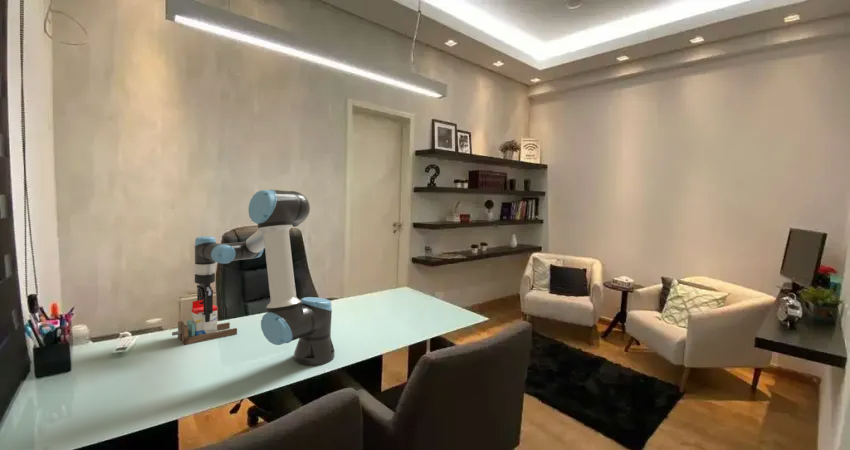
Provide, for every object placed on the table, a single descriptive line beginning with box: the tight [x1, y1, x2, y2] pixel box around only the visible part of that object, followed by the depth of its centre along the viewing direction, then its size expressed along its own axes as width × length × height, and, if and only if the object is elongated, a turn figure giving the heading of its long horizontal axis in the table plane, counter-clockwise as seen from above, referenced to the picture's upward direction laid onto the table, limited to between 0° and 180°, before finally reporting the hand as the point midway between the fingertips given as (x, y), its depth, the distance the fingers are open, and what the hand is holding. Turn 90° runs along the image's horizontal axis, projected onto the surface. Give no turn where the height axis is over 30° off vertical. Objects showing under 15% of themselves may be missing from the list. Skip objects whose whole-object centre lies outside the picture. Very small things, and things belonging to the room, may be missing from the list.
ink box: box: [191, 300, 218, 336], centre depth 162 cm, size 8×5×15 cm, turn 142°
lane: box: [177, 320, 238, 346], centre depth 164 cm, size 10×20×7 cm, turn 135°
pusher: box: [171, 319, 195, 337], centre depth 157 cm, size 7×7×7 cm
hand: (204, 326), depth 163 cm, fingers closed on ink box, 5 cm apart
